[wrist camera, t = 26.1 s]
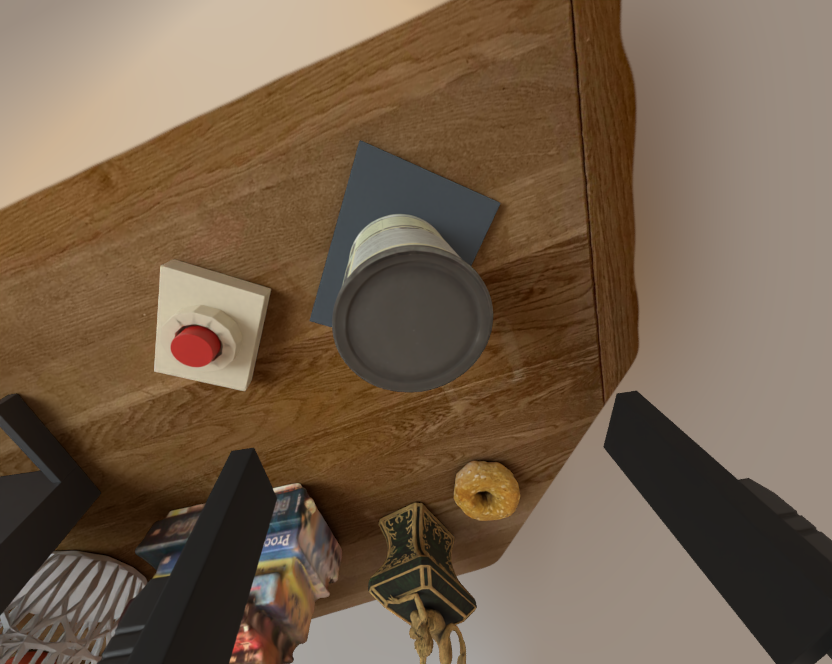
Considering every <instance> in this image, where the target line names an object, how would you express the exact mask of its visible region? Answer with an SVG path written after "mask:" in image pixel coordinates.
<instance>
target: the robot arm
mask: <svg viewBox="0 0 832 664" xmlns="http://www.w3.org/2000/svg"><path fill="white" fill-rule="evenodd" d="M604 448H605V450H606V451H607V452H608V453H609V455H610V456H611V457H612V458H613V460H614V461H615V462H616V463H617V465H618V466H619V467H620V468H621V470H622V471H623V472H624V473H625V475H626V476H627V477H628V478H629V480H630V481H631V482H632V483H633V485H634V486H635V487H636V488H637V490H638V491H639V492H640V493H641V495H642V496H643V497H644V499H645V500H646V501H647V502H648V504H649V505H650V506H651V507H652V509H653V510H654V511H655V512H656V514H657V515H658V516H659V517H660V519H661V520H662V521H663V522H664V524H665V525H666V526H667V527H668V529H669V530H670V531H671V532H672V534H673V535H674V536H675V537H676V538H677V540H678V541H679V542H680V544H681V545H682V546H683V548H684V549H685V550H686V551H687V553H688V554H689V555H690V556H691V558H692V559H693V560H694V561H695V563H696V564H697V565H698V566H699V568H700V569H701V570H702V571H703V573H704V574H705V575H706V576H707V578H708V579H709V580H710V581H711V583H712V584H713V585H714V586H715V588H716V589H717V590H718V591H719V593H720V594H721V595H722V597H723V598H724V599H725V600H726V602H727V603H728V604H729V605H730V606H731V608H732V609H733V610H734V611H735V612H736V614H737V615H738V617H739V618H740V619H741V620H742V621H743V623H744V624H745V625H746V627H747V628H748V629H749V630H750V632H751V633H752V634H753V635H754V637H755V638H756V639H757V640H758V642H759V643H760V644H761V645H762V647H763V648H764V649H765V650H766V652H767V653H768V654H769V655H770V657H771V658H772V659H773V661H774V662H775V663H776V664H815V663H816V662H817V661H818V660H820V659H821V658H822V657H823V656H825V655H826V654H828V656H829V657H830V658H831V659H832V540H831V539H829V538H828V537H827V536H826V535H825V534H823V533H822V532H819V531H817V530H816V527H815V526H814V525H812V524H811V523H810V522H809V521H808V520H806V519H805V518H804V517H803V516H800V515H798V514H797V511H796V510H794V509H793V508H792V507H791V506H790V505H788V504H787V503H786V502H785V501H784V500H782V499H781V498H780V497H779V496H778V495H776V494H775V493H774V492H772V491H770V490H769V489H767V488H765V487H763V486H762V485H760V484H758V483H756V482H755V481H753V480H751V479H749V478H747V479H740V480H737V479H736V478H735V477H734V476H733V475H732V474H731V473H730V472H728V471H727V470H726V469H725V468H724V467H723V466H722V465H720V464H719V463H718V462H717V461H716V460H715V459H714V458H712V457H711V456H710V455H709V454H708V453H707V452H706V451H705V450H703V449H702V448H701V447H700V446H699V445H698V444H697V443H695V442H694V441H693V440H692V439H691V438H690V437H688V435H686V434H685V433H684V432H683V431H682V430H680V428H678V427H677V426H676V425H675V424H674V423H673V422H672V421H671V420H669V419H668V418H667V417H666V416H665V415H664V414H663V413H661V412H660V411H659V410H658V409H657V408H656V407H655V406H653V405H652V404H651V403H650V402H649V401H648V400H647V399H645V398H644V397H643V396H642V395H641V394H640V393H639V392H637V391H631V392H625V393H618V394H617V395H616V399H615V403H614V407H613V411H612V415H611V419H610V423H609V427H608V431H607V435H606V439H605V443H604ZM276 501H277V497H276V494H275V492H274V490H273V488H272V486H271V483H270V481H269V479H268V477H267V475H266V473H265V470H264V468H263V466H262V464H261V462H260V459H259V457H258V455H257V453H256V451H255V449H254V448H249V449H242V450H235V451H231V453H230V455H229V457H228V459H227V461H226V463H225V465H224V467H223V469H222V471H221V473H220V475H219V477H218V479H217V481H216V483H215V485H214V487H213V489H212V491H211V493H210V495H209V497H208V499H207V501H206V503H205V505H204V507H203V509H202V512H201V514H200V516H199V518H198V520H197V522H196V524H195V526H194V528H193V530H192V532H191V534H190V536H189V538H188V540H187V542H186V544H185V546H184V548H183V550H182V552H181V554H180V556H179V558H178V560H177V562H176V564H175V566H174V568H173V570H172V572H171V574H170V576H164V577H158V578H152V579H151V580H150V581H149V582H148V583H147V584H146V586H145V587H144V588H143V589H142V590H141V591H140V593H139V594H138V595H137V596H136V597H135V598H134V600H133V601H132V602H131V603H130V605H129V607H128V608H127V610H126V612H125V614H124V616H123V617H122V619H121V621H120V623H119V625H118V626H117V628H116V630H115V635H114V636H113V637H111V639H110V641H109V643H108V644H107V646H106V648H105V650H104V652H103V653H102V658H101V660H100V661H98V662H97V664H229V663H230V659H231V656H232V652H233V649H234V645H235V642H236V639H237V635H238V632H239V628H240V625H241V621H242V618H243V615H244V611H245V608H246V604H247V601H248V597H249V594H250V591H251V587H252V584H253V580H254V577H255V573H256V570H257V567H258V563H259V560H260V556H261V553H262V549H263V546H264V543H265V539H266V536H267V532H268V529H269V525H270V522H271V519H272V515H273V512H274V508H275V505H276Z"/></svg>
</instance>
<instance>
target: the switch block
mask: <svg viewBox="0 0 832 664" xmlns="http://www.w3.org/2000/svg"><path fill="white" fill-rule="evenodd" d="M270 292H271V288H267V287H264V286H261V285H257V284H254V283H251V282H247V281H244V280H241V279H238V278H234V277H231V276H228V275H224V274H221V273H218V272H214V271H211V270H208V269H205V268H201V267H198V266H195V265H191V264H188V263H185V262H181V261H178V260H175V259H173V260H171V261H169V262H167V263H165V264H163V265H161V269H160V286H159V302H158V318H157V334H156V350H155V366H154V371H155V372H160V373H164V374H169V375H173V376H178V377H182V378H187V379H191V380H196V381H201V382H205V383H210V384H214V385H219V386H223V387H228V388H232V389H237V390H241V391H246V389H247V387H248V386H249V384H250V382H251V380H252V376H253V372H254V367H255V362H256V358H257V353H258V348H259V344H260V339H261V334H262V330H263V325H264V320H265V316H266V311H267V306H268V302H269V297H270ZM190 326H202V327H205V328H208V329H210V330H211V331H213V332H214V333H215V334H216V335H217V336H218V338H219V340H220V343H221V348H220V351H219V352H218V354H217V355H216V356H215V357H214V359H213V360H212V361H211V362H210V363H209V364H208V365H206V366H203V367H190V366H186V365H184V364H182V363H180V362H179V361H178V360H177V359H176V358H175V357H174V356H173V354H172V352H171V348H170V346H171V342H172V340H173V339H174V338H175V337H176V336H177V335H178V334H179V333H181V332H182V331H183V330H184V329H185V328H187V327H190Z"/></svg>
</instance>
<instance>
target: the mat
mask: <svg viewBox="0 0 832 664" xmlns="http://www.w3.org/2000/svg"><path fill="white" fill-rule="evenodd" d="M499 206H500V203H499V202H497V201H495V200H493V199H491V198H488V197H486V196H484V195H482V194H479V193H477V192H475V191H473V190H470V189H468V188H466V187H464V186H461V185H459V184H457V183H455V182H452V181H450V180H448V179H446V178H444V177H441V176H439V175H437V174H435V173H432V172H430V171H428V170H426V169H423V168H421V167H419V166H417V165H414V164H412V163H410V162H408V161H406V160H403V159H401V158H399V157H397V156H394V155H392V154H390V153H388V152H385V151H383V150H381V149H379V148H376V147H374V146H372V145H370V144H368V143H365V142H363V141H361V140H360V141H359V145H358V149H357V152H356V156H355V159H354V163H353V167H352V170H351V174H350V177H349V181H348V185H347V188H346V192H345V195H344V199H343V203H342V206H341V210H340V213H339V217H338V221H337V224H336V228H335V231H334V235H333V239H332V242H331V246H330V249H329V253H328V257H327V260H326V264H325V267H324V271H323V275H322V278H321V282H320V285H319V289H318V292H317V296H316V300H315V303H314V307H313V310H312V314H311V318H310V321H312V322H315V323H319V324H322V325H325V326H329V327H332V317H333V310H334V305H335V302H336V299H337V296H338V293H339V291H340V289H341V287H342V284H343V281H344V277H345V273H346V269H347V266H348V262H349V255H350V251H351V248H352V245H353V243H354V241H355V239H356V238H357V236H358V235H359V233H360V232H361V231H362V230H363V229H364V228H365V227H366V226H367V225H369V224H370V223H371V222H373V221H375V220H377V219H379V218H382V217H384V216H388V215H394V214H405V215H412V216H415V217H418V218H420V219H422V220H424V221H426V222H427V223H429V224H430V225H432V226H433V227H434V228H435V229H436V230H437V231H438V232H439V234H440V235H441V236H442V238H443V239H444V240H445V241H446V242H447V243H448V244H449V245H450V247H451V248H452V249H453V250H454V251H455V252H456V253H457V254H458V256H459V257H460V258H461V259H462V260H464V261H465V262H466V263H468V264H469V265H470V266H471V265H472V263H473V261H474V259H475V257H476V254H477V252H478V250H479V248H480V246H481V244H482V242H483V240H484V237H485V235H486V233H487V231H488V229H489V227H490V225H491V223H492V220H493V218H494V216H495V214H496V212H497V210H498V208H499Z"/></svg>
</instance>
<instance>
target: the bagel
mask: <svg viewBox="0 0 832 664" xmlns="http://www.w3.org/2000/svg"><path fill="white" fill-rule="evenodd" d="M480 491H484V492H483V493H480ZM454 500H455V502H456V504H457V505H458V506H459V507H460V508H461V509H462V511H463V512H464V513H465V514H466V515H467V516H469V517H471V518H473V519H477V520H480V521H487V520H498V519H503V518H505V517H508V516H510V515H512V514H513V513H514V512H515V510H516V507H517V505H518V503H519V500H520V493H519V487H518V483H517V481H516V479H515V478H514V477H513V473H512V472H511V471H510V470H508V469H507V468H506V467H505V466H503V465H502V464H500V463H498V462H486V461H479V462H478V461H471V462H469V463H468V464H466V465H465V466H464V467H463V468H462V469H461V470H460V471H459V472H458V473H457V474H456V479H455V489H454Z"/></svg>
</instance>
